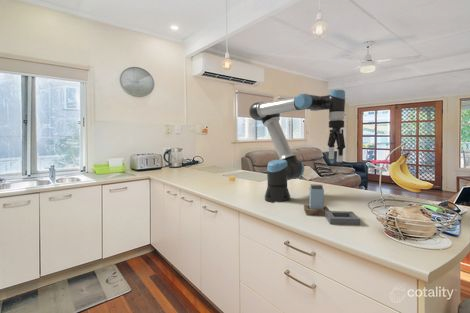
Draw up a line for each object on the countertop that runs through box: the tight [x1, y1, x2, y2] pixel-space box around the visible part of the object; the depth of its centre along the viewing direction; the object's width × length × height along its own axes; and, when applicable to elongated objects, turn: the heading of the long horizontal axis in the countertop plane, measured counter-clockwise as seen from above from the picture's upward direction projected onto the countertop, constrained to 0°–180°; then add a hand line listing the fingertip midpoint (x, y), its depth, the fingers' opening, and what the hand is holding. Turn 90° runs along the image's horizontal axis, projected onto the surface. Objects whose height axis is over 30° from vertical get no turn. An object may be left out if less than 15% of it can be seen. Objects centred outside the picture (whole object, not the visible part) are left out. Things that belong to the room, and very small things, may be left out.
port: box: [324, 210, 361, 226], centre depth 107 cm, size 12×10×3 cm
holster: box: [303, 204, 331, 217], centre depth 118 cm, size 10×8×3 cm
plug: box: [308, 183, 325, 209], centre depth 118 cm, size 6×4×14 cm, turn 82°
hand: (335, 160), depth 130 cm, fingers open, 13 cm apart
